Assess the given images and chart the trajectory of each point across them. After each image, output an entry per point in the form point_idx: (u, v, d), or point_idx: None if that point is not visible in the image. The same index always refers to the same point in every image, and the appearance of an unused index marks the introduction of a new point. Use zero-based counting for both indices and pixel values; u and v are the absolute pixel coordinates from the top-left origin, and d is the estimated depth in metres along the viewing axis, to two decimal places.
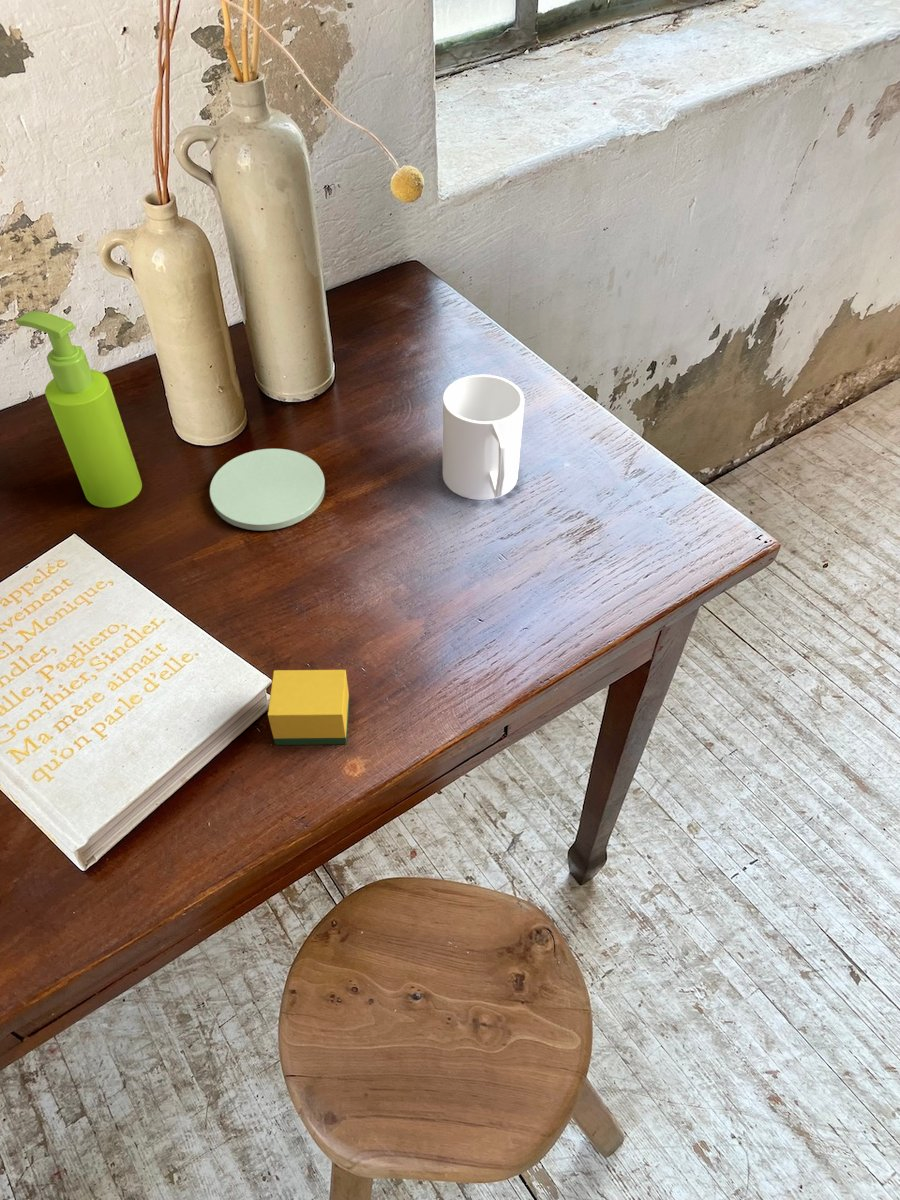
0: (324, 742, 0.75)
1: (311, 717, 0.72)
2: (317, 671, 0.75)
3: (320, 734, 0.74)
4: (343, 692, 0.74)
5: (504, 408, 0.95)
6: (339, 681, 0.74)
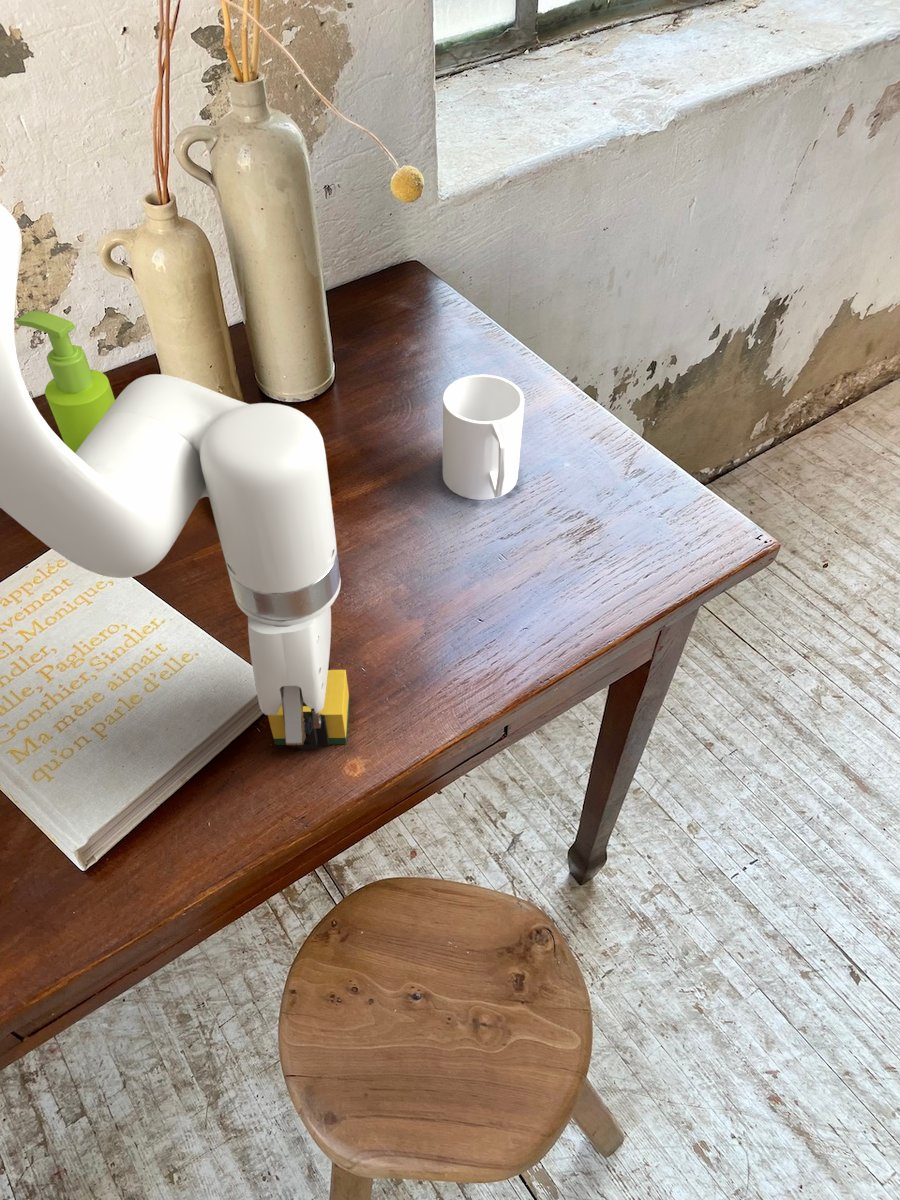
0: None
1: None
2: None
3: None
4: (343, 692, 0.74)
5: (504, 408, 0.95)
6: (340, 681, 0.74)
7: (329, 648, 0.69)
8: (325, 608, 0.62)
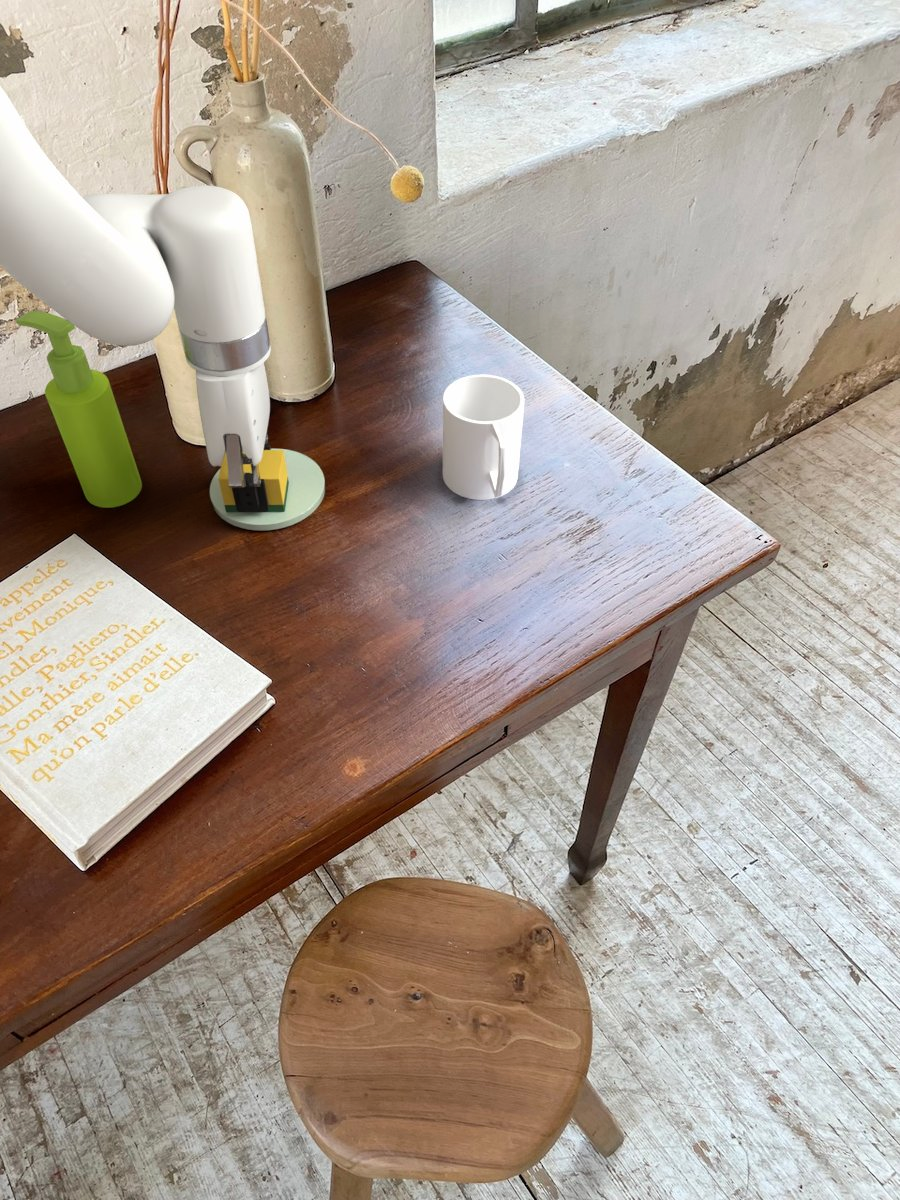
0: None
1: None
2: None
3: None
4: (280, 464, 0.90)
5: (504, 408, 0.95)
6: (278, 457, 0.91)
7: (265, 416, 0.86)
8: (257, 365, 0.79)
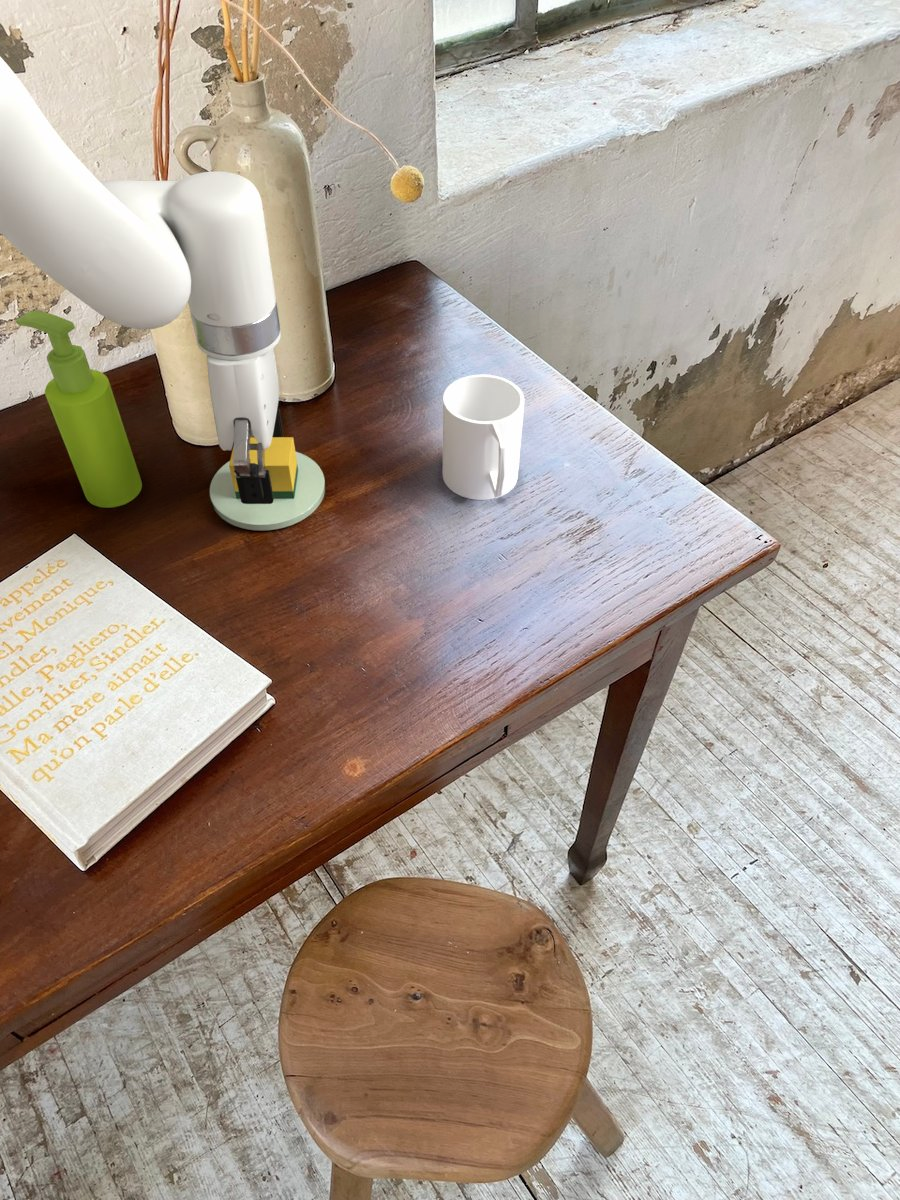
0: (275, 496, 0.93)
1: None
2: None
3: (272, 487, 0.92)
4: (290, 451, 0.92)
5: (504, 408, 0.95)
6: (288, 444, 0.92)
7: (275, 401, 0.87)
8: (267, 349, 0.80)
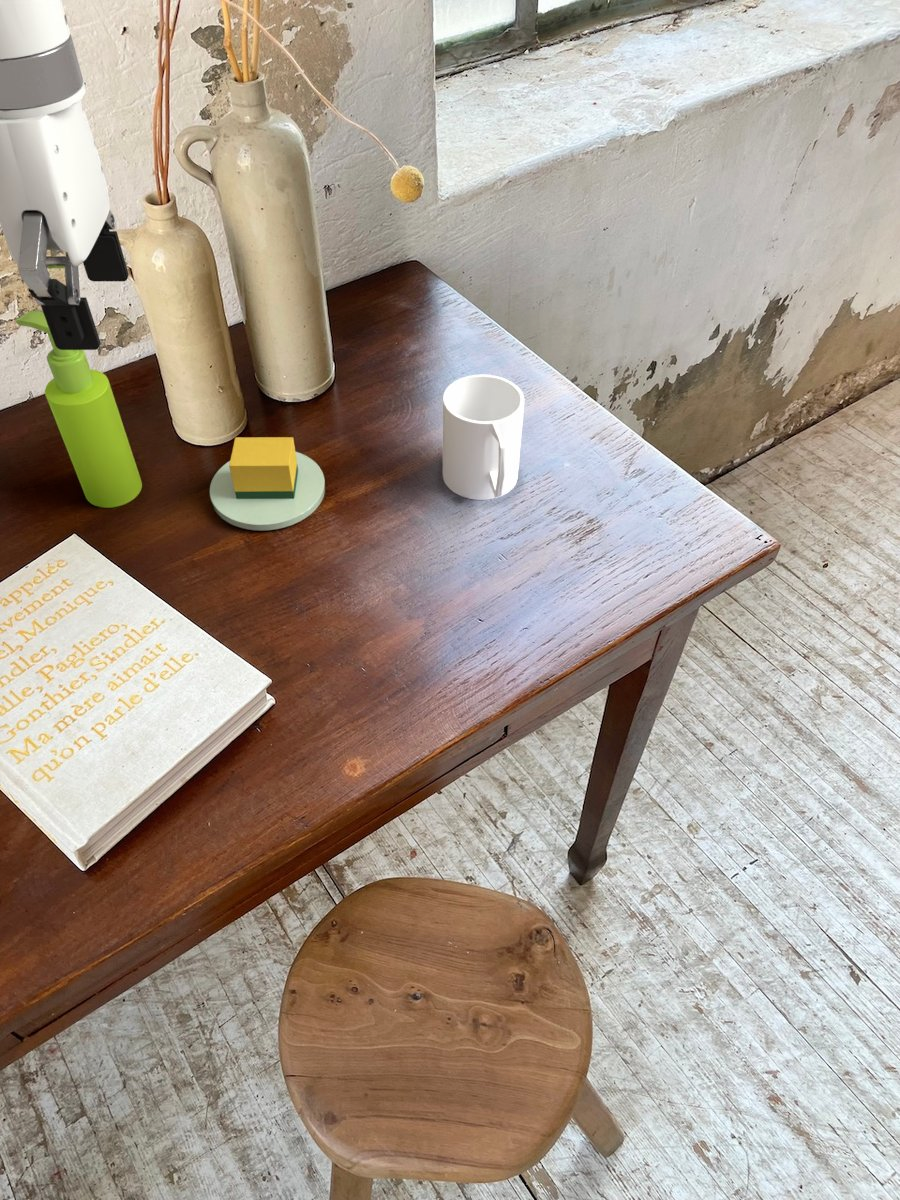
0: (275, 496, 0.93)
1: (264, 468, 0.90)
2: (270, 437, 0.93)
3: (272, 487, 0.92)
4: (290, 451, 0.92)
5: (504, 408, 0.95)
6: (288, 444, 0.92)
7: (92, 202, 0.64)
8: (59, 106, 0.57)
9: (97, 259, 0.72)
